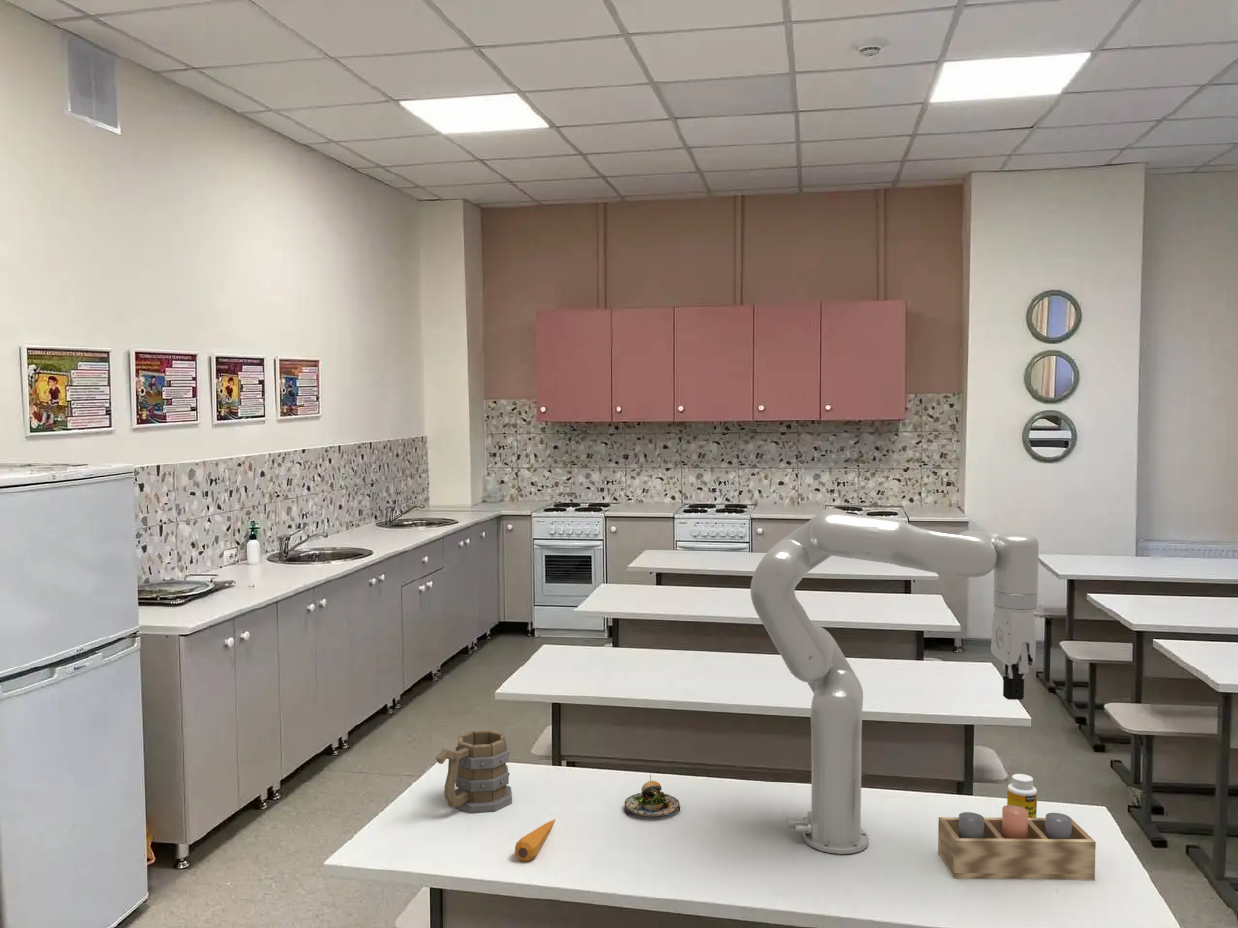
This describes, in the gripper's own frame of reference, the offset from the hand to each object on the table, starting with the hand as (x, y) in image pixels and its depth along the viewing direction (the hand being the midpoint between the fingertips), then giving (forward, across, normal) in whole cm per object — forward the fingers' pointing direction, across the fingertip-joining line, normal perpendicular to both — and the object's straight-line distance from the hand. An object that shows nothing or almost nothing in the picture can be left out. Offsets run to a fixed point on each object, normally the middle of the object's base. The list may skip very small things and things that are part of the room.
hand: (1013, 697), depth 178 cm
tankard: (+31, -23, -106) cm, 113 cm away
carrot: (+32, -7, -89) cm, 95 cm away
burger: (+32, -22, -67) cm, 77 cm away
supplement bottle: (+31, -15, +8) cm, 36 cm away
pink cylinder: (+27, +2, 0) cm, 28 cm away
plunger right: (+29, +2, +8) cm, 30 cm away
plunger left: (+29, +2, -8) cm, 30 cm away
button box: (+31, +2, 0) cm, 31 cm away
